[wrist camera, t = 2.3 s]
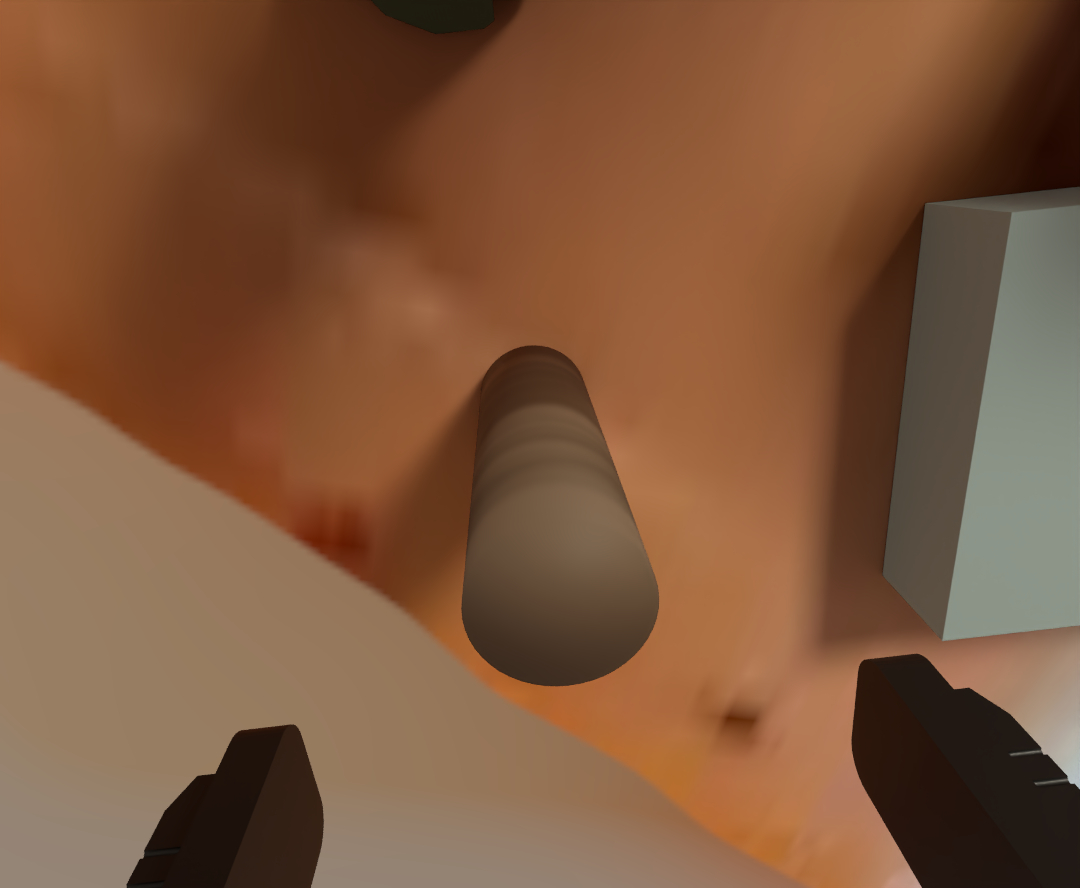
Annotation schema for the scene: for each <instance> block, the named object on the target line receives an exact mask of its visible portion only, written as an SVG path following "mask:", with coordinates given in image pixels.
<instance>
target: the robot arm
mask: <svg viewBox="0 0 1080 888" xmlns="http://www.w3.org/2000/svg"><path fill="white" fill-rule="evenodd" d="M852 752H853V758H854V762H855V766H856V769H857V772H858V775H859V778H860V780H861V782H862V785H863V787H864V788H865V790H866V792H867V794H868V796H869V797H870V799H871V801H872V802H873V804H874V806H875V808H876V809H877V811H878V813H879V814H880V816H881V818H882V820H883V821H884V823H885V825H886V827H887V828H888V830H889V832H890V833H891V835H892V837H893V839H894V840H895V842H896V844H897V845H898V847H899V849H900V851H901V852H902V854H903V856H904V858H905V859H906V861H907V863H908V864H909V866H910V868H911V870H912V871H913V873H914V875H915V876H916V878H917V880H918V882H919V883H920V885H921V887H922V888H1080V789H1079V788H1078V787H1077V786H1076V785H1075V784H1070V783H1069V781H1068V778H1067V775H1066V774H1065V773H1064V772H1063V771H1062V770H1061V769H1060V768H1059V767H1058V765H1057V764H1056V763H1055V762H1054V761H1053V760H1052V759H1051V758H1050V757H1049V756H1048V755H1044V754H1043V753H1042V751H1041V747H1040V746H1039V745H1038V744H1037V743H1036V742H1035V741H1034V739H1033V738H1032V737H1031V736H1030V735H1029V734H1028V733H1027V732H1026V731H1025V730H1024V729H1023V728H1022V726H1021V725H1020V724H1019V723H1018V722H1017V721H1016V720H1015V719H1014V718H1013V717H1012V716H1011V715H1010V714H1009V713H1008V712H1006V711H1004V710H1003V709H1001V708H1000V707H998V706H997V705H995V704H994V703H992V702H990V701H989V700H987V699H986V698H984V697H983V696H981V695H980V694H978V693H976V692H975V691H973V690H972V689H970V688H963V689H953V688H952V687H951V686H950V685H949V683H948V682H947V681H946V680H945V679H944V678H943V676H942V675H941V674H940V673H939V672H938V671H937V669H936V668H935V667H934V666H933V665H932V664H931V663H930V661H929V660H928V659H926V658H925V657H924V656H922V655H920V654H910V655H901V656H893V657H884V658H875V659H867V660H864V661H862V662H861V664H860V666H859V670H858V679H857V689H856V699H855V709H854V720H853V730H852ZM323 824H324V819H323V806H322V801H321V797H320V794H319V791H318V788H317V784H316V781H315V778H314V775H313V771H312V768H311V765H310V762H309V758H308V755H307V752H306V749H305V745H304V742H303V739H302V736H301V733H300V731H299V729H298V728H297V726H295V725H284V726H275V727H266V728H258V729H249V730H241V731H239V732H238V733H236V734H235V735H234V737H233V738H232V740H231V742H230V744H229V746H228V748H227V750H226V752H225V754H224V757H223V759H222V761H221V763H220V765H219V767H218V769H217V771H216V774H210V775H201V776H197V777H196V778H195V779H194V780H193V781H192V782H191V783H190V785H189V786H188V787H187V788H186V789H185V790H184V791H183V792H182V793H181V794H180V795H179V796H178V798H177V799H176V800H175V801H174V802H173V803H172V804H171V805H170V806H169V807H168V808H167V809H166V810H165V812H164V814H163V816H162V818H161V819H160V821H159V823H158V825H157V827H156V829H155V831H154V833H153V835H152V837H151V839H150V841H149V843H148V844H147V846H146V848H145V850H144V852H145V854H144V858H143V859H140V860H139V862H138V864H137V866H136V867H135V870H134V871H133V873H132V875H131V877H130V879H129V881H128V883H127V888H311V884H312V881H313V877H314V873H315V869H316V866H317V862H318V858H319V854H320V850H321V845H322V838H323Z"/></svg>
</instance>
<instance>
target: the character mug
mask: <svg viewBox="0 0 1080 888" xmlns="http://www.w3.org/2000/svg"><path fill="white" fill-rule="evenodd" d="M371 1H372V2H373V3H374V4H375V5H376V6H377V7H378V8H379V9H380V10H381V11H382V12H383V13H384V14H385V15H387V16H390V17H392V18H395V19H398V20H400V21H403V22H406V23H408V24H411V25H413V26H416V27H419V28H421V29H424V30H427V31H429V32H432V33H435V34H440V33H449V32H458V31H467V30H475V29H484V28H485V27H486V26H488V25H489V24H490V23H492V22H493V21H494V11H493V1H492V0H371Z"/></svg>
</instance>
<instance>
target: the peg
mask: <svg viewBox="0 0 1080 888" xmlns="http://www.w3.org/2000/svg"><path fill="white" fill-rule="evenodd" d="M461 609H462V620H463V624H464V627H465V631H466V633H467V635H468V638H469V640H470V642H471V643H472V645H473V646H474V648H475V649H476V651H477V652H478V653H479V654H480V655H481V657H482V658H483V659H484V660H486V661H487V662H488V663H489V664H490V665H491V666H493V667H494V668H496V669H497V670H499V671H500V672H502V673H504V674H506V675H508V676H510V677H512V678H515V679H517V680H520V681H523V682H527V683H531V684H536V685H543V686H569V685H575V684H581V683H585V682H588V681H592V680H595V679H597V678H600V677H602V676H605V675H607V674H609V673H611V672H612V671H614V670H616V669H617V668H619V667H620V666H622V665H623V664H625V663H626V662H627V661H628V660H630V659H631V658H632V657H633V656H634V655H635V654H636V653H637V652H638V651H639V650H640V649H641V647H642V646H643V645H644V643H645V642H646V640H647V639H648V637H649V635H650V633H651V631H652V630H653V627H654V624H655V622H656V619H657V614H658V609H659V592H658V585H657V582H656V578H655V575H654V572H653V570H652V567H651V564H650V561H649V559H648V556H647V553H646V550H645V548H644V545H643V542H642V539H641V537H640V534H639V531H638V529H637V526H636V523H635V520H634V518H633V515H632V512H631V509H630V507H629V504H628V501H627V498H626V496H625V493H624V490H623V487H622V485H621V482H620V479H619V477H618V474H617V471H616V468H615V466H614V463H613V460H612V457H611V455H610V452H609V449H608V446H607V444H606V441H605V438H604V435H603V433H602V430H601V427H600V425H599V422H598V419H597V416H596V414H595V411H594V408H593V405H592V403H591V400H590V397H589V394H588V392H587V389H586V386H585V383H584V381H583V378H582V376H581V374H580V372H579V370H578V368H577V367H576V366H575V364H574V363H573V362H572V361H571V360H570V359H569V358H568V357H566V356H565V355H564V354H562V353H560V352H558V351H556V350H554V349H551V348H548V347H544V346H524V347H519V348H516V349H513V350H511V351H509V352H507V353H506V354H504V355H502V356H501V357H500V358H499V359H497V360H496V361H495V362H494V363H493V365H492V366H491V367H490V369H489V370H488V372H487V374H486V376H485V378H484V381H483V384H482V388H481V398H480V409H479V420H478V431H477V442H476V452H475V463H474V474H473V485H472V496H471V507H470V518H469V529H468V540H467V551H466V561H465V572H464V583H463V594H462V608H461Z"/></svg>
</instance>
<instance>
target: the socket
mask: <svg viewBox="0 0 1080 888" xmlns="http://www.w3.org/2000/svg"><path fill="white" fill-rule="evenodd" d="M883 577H884V578H885V579H886V580H887V581H888V582H889V583H890V584H891V585H892V586H893V587H894V589H895V590H896V591H897V592H898V593H899V594H900V595H901V596H902V597H903V598H904V600H905V601H906V602H907V603H908V604H909V605H910V606H911V607H912V608H913V609H914V611H915V612H916V613H917V614H918V615H919V616H920V617H921V618H922V619H923V620H924V621H925V623H926V624H927V625H928V626H929V627H930V628H931V629H932V630H933V631H934V632H935V634H936V635H937V636H938V637H939V638H940V639H941V640H942V641H947V640H955V639H964V638H973V637H982V636H991V635H1000V634H1008V633H1017V632H1026V631H1035V630H1044V629H1052V628H1061V627H1070V626H1079V625H1080V187H1072V188H1063V189H1054V190H1044V191H1035V192H1026V193H1017V194H1007V195H998V196H989V197H979V198H970V199H961V200H952V201H942V202H933V203H925V210H924V218H923V227H922V236H921V245H920V253H919V262H918V271H917V279H916V288H915V297H914V305H913V314H912V323H911V331H910V340H909V349H908V357H907V366H906V375H905V384H904V392H903V401H902V410H901V418H900V427H899V436H898V444H897V453H896V462H895V470H894V479H893V488H892V497H891V505H890V514H889V523H888V531H887V540H886V549H885V557H884V566H883Z"/></svg>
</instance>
